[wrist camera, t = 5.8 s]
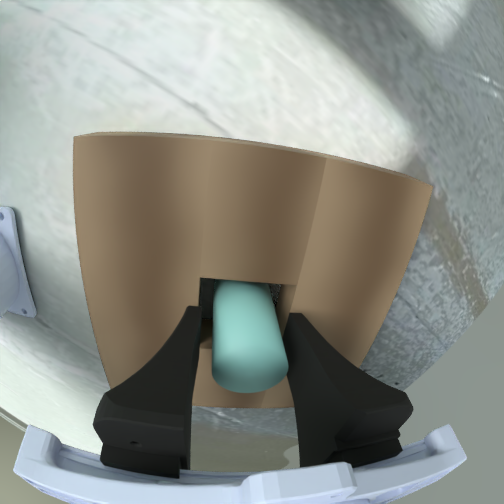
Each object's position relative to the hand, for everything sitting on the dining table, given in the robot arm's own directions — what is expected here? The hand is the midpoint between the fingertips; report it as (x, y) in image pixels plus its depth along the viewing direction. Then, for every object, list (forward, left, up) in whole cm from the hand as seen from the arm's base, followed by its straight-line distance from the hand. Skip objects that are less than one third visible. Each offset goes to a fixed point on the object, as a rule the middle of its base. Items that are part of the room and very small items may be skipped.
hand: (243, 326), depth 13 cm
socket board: (0, 0, -3) cm, 3 cm away
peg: (0, 0, -3) cm, 3 cm away
